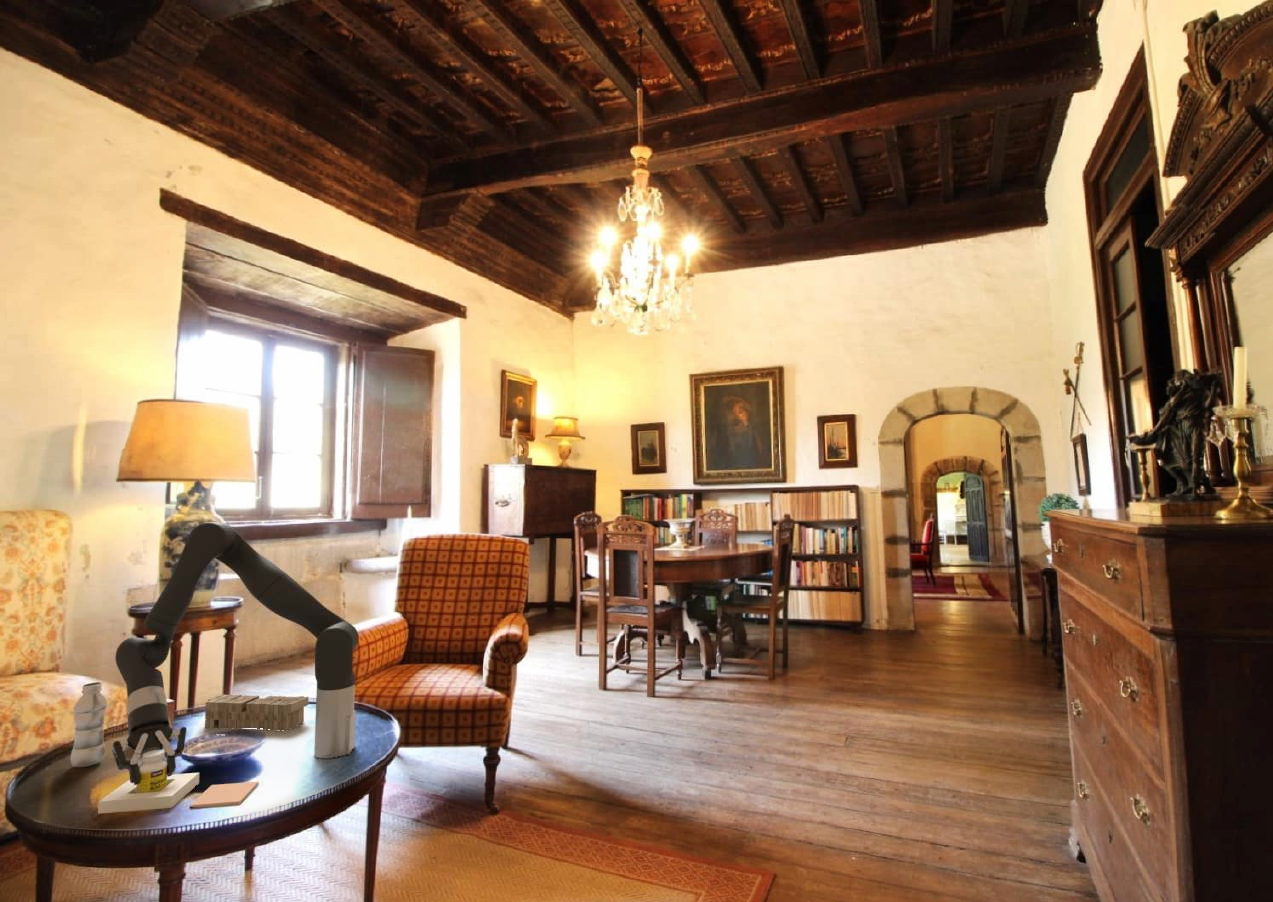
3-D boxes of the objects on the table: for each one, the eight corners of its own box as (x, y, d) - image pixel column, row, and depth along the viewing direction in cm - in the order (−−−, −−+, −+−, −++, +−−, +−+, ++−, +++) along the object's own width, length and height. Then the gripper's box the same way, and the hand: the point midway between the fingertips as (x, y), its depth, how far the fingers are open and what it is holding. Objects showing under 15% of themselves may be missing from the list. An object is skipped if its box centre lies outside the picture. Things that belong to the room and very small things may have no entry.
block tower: (200, 731, 186) (291, 732, 183) (200, 701, 187) (291, 702, 183) (220, 722, 194) (308, 722, 190) (221, 693, 195) (308, 694, 191)
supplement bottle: (149, 804, 139) (151, 758, 139) (129, 802, 140) (131, 756, 140) (172, 793, 144) (174, 748, 145) (152, 791, 145) (154, 747, 146)
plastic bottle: (106, 764, 160) (111, 683, 161) (70, 773, 155) (76, 689, 156) (102, 757, 164) (107, 679, 166) (67, 765, 159) (73, 684, 161)
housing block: (198, 783, 149) (199, 772, 149) (171, 807, 137) (172, 795, 137) (131, 788, 146) (132, 777, 147) (98, 813, 135) (98, 801, 135)
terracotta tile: (258, 783, 149) (258, 781, 149) (240, 803, 139) (240, 801, 139) (211, 787, 147) (211, 784, 147) (189, 808, 137) (189, 805, 137)
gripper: (110, 709, 143) (114, 780, 134) (187, 695, 154) (195, 760, 144) (106, 727, 147) (109, 798, 137) (181, 712, 157) (189, 777, 148)
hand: (153, 778), depth 141 cm, fingers closed on supplement bottle, 5 cm apart
